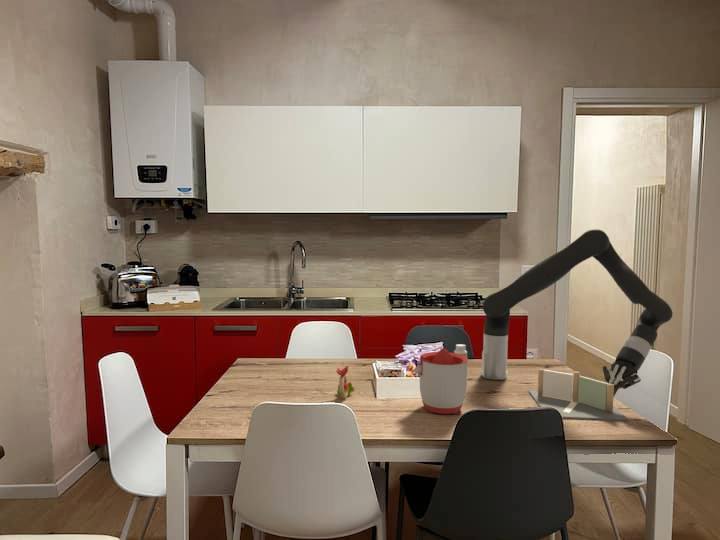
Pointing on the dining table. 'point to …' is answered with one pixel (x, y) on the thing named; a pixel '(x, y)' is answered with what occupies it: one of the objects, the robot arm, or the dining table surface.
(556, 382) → the panel
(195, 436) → the dining table surface
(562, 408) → the board
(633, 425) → the dining table surface
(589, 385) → the fence hinged section
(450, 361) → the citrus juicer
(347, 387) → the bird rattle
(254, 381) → the dining table surface
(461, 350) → the supplement bottle
